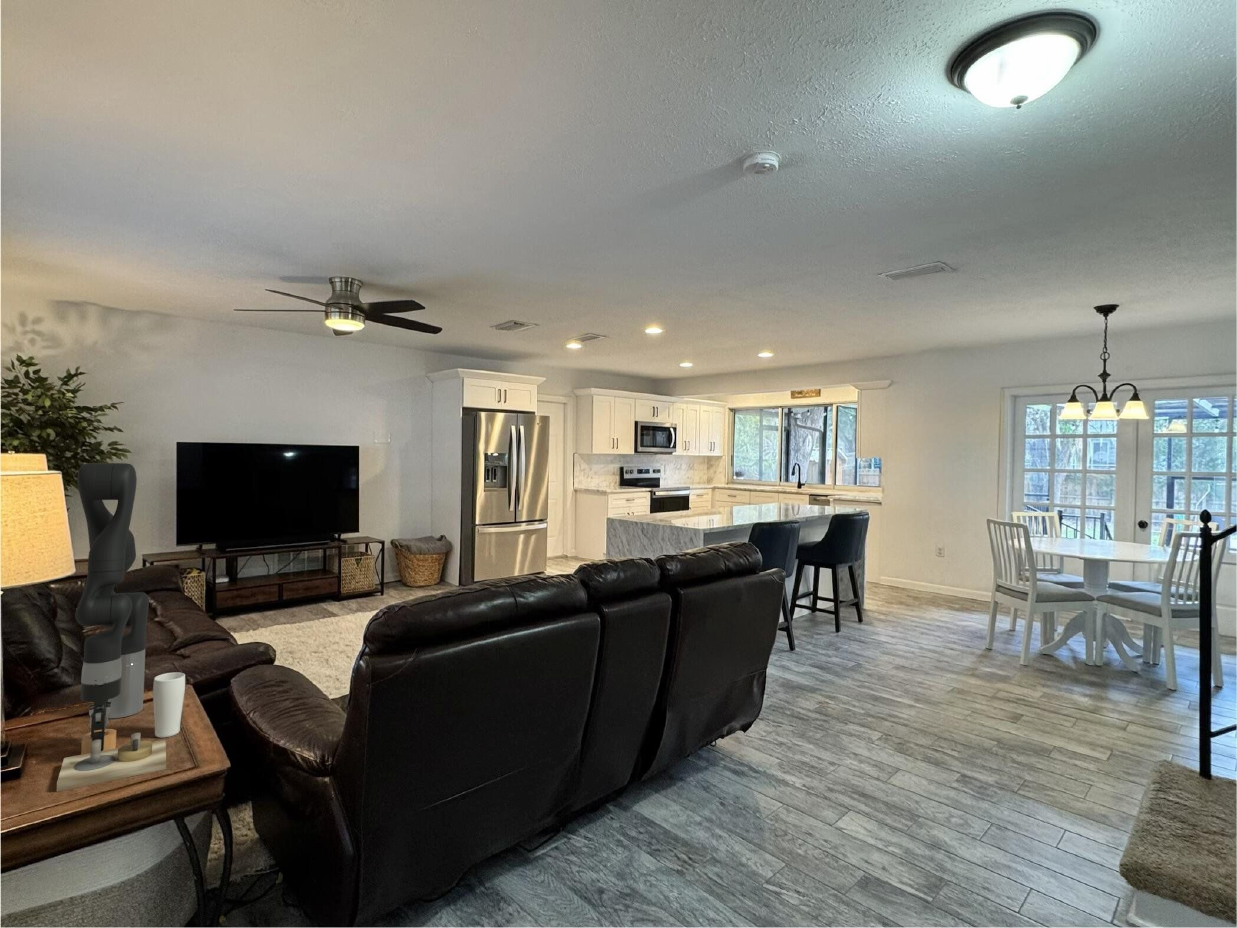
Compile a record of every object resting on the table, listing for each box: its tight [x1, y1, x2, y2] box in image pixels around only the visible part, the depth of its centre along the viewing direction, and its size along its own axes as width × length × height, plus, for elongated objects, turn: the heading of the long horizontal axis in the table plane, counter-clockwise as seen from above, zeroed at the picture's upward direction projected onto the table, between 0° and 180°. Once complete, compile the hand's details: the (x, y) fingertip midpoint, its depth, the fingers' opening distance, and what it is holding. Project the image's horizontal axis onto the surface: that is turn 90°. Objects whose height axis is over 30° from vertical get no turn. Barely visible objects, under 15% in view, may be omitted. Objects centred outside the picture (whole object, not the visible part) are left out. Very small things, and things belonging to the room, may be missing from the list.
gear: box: [80, 728, 117, 755], centre depth 153 cm, size 6×6×4 cm
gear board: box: [56, 732, 167, 792], centre depth 145 cm, size 13×19×7 cm
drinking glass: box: [152, 671, 186, 739], centre depth 163 cm, size 7×7×15 cm
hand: (98, 745), depth 153 cm, fingers closed on gear, 6 cm apart
